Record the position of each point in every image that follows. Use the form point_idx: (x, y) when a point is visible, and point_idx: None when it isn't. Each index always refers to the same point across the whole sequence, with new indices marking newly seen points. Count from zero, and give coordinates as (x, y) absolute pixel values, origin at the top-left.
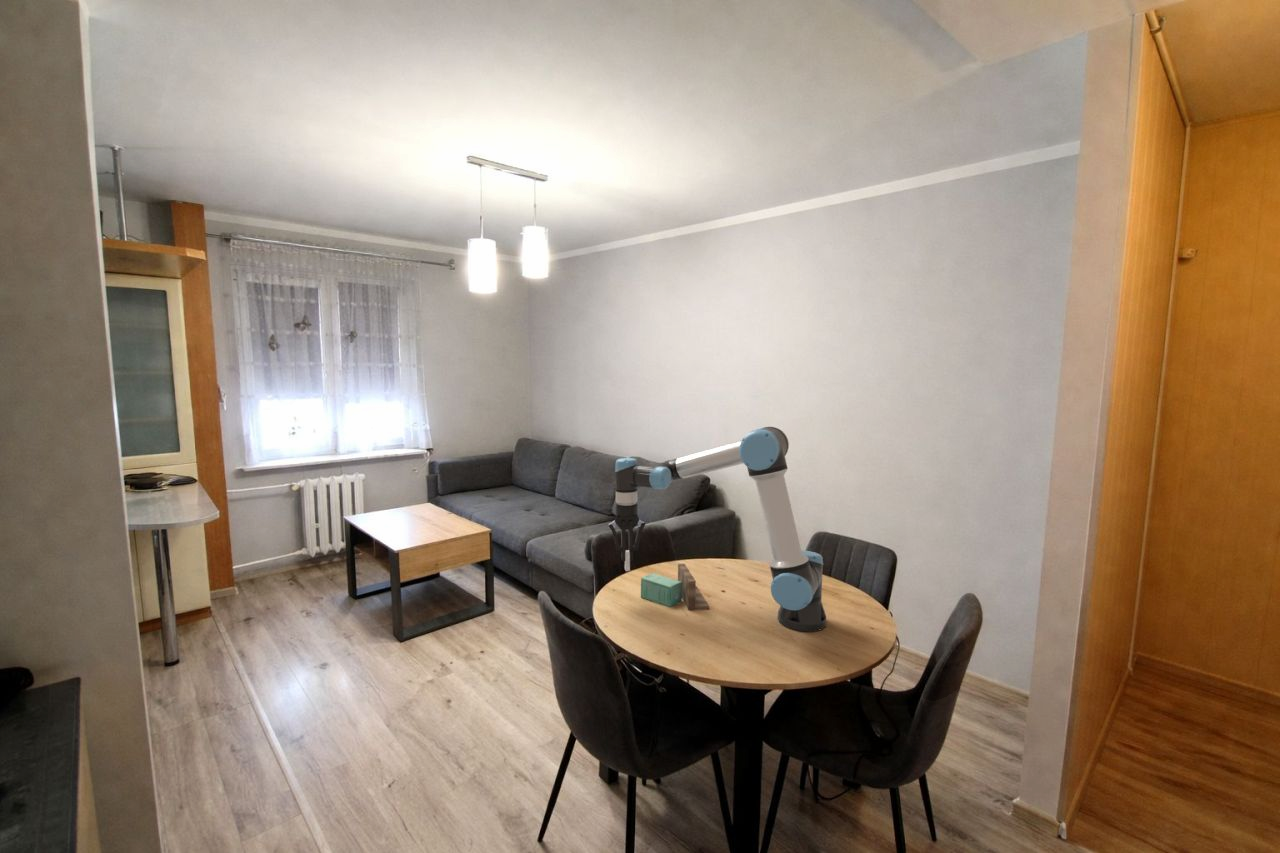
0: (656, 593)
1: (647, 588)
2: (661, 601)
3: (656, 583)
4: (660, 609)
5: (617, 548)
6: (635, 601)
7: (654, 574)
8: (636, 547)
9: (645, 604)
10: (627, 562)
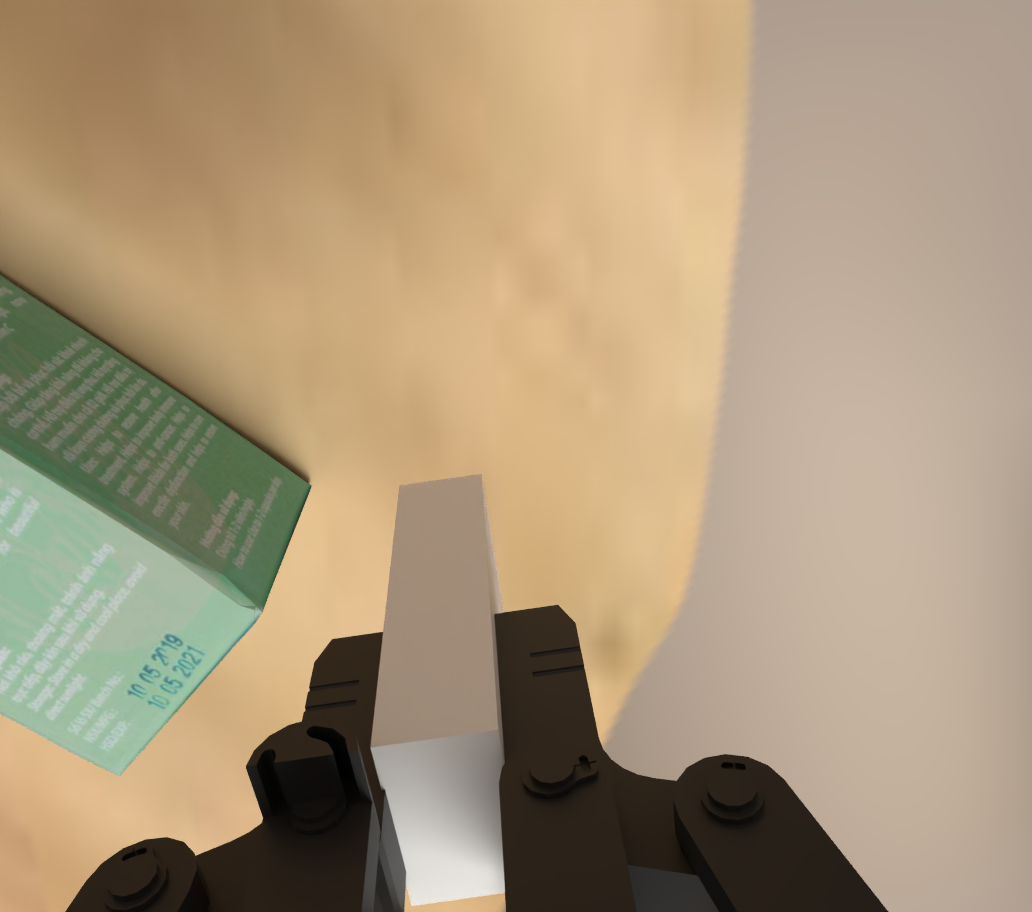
0: (66, 383)
1: (193, 482)
2: (25, 307)
3: (8, 445)
4: (28, 146)
5: (777, 813)
6: (364, 375)
7: (93, 731)
8: (121, 910)
9: (237, 294)
10: (442, 571)
